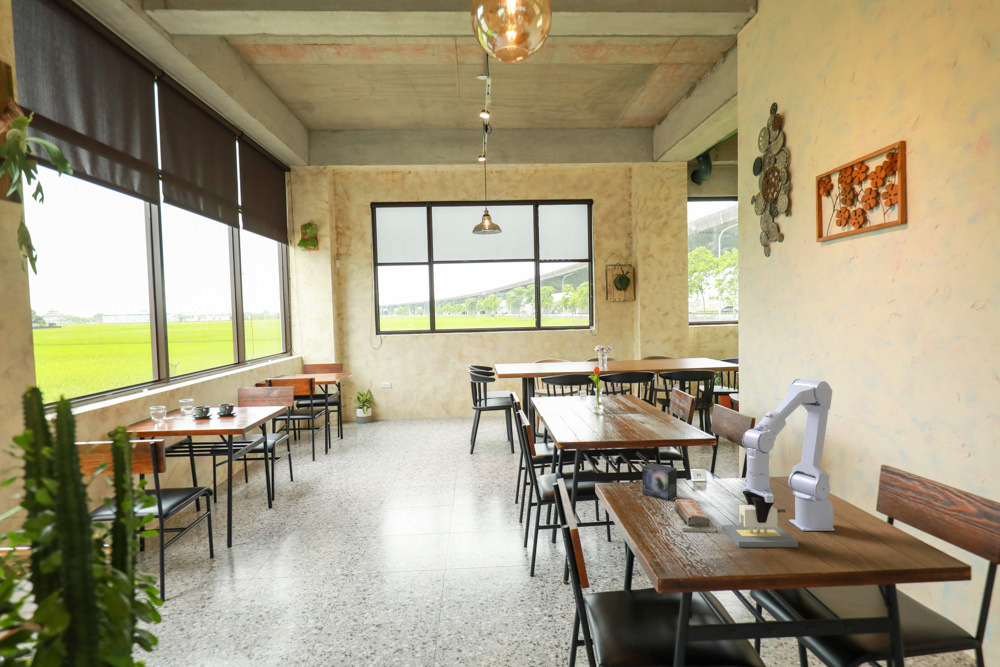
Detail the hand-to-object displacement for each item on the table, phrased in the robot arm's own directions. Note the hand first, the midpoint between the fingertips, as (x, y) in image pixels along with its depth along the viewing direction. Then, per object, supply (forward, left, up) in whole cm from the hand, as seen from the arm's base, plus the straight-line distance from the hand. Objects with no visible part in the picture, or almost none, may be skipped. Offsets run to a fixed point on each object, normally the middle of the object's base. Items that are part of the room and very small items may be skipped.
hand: (758, 519), depth 152 cm
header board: (0, 0, -5) cm, 5 cm away
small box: (+18, -38, -6) cm, 42 cm away
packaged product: (+15, -14, -6) cm, 21 cm away
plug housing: (-1, 0, -1) cm, 2 cm away
